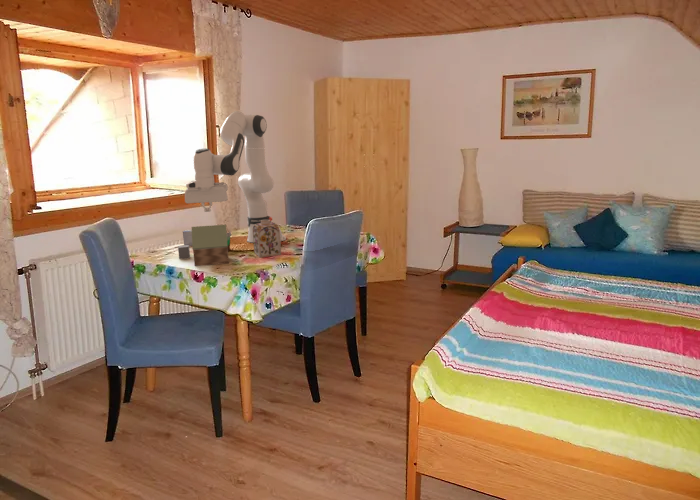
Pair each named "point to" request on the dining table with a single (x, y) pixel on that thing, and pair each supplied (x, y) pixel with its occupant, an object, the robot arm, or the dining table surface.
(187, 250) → the block
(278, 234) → the decorative jar
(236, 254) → the dining table surface
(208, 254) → the wooden box
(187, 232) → the medicine box
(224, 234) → the box lid
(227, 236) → the food container
